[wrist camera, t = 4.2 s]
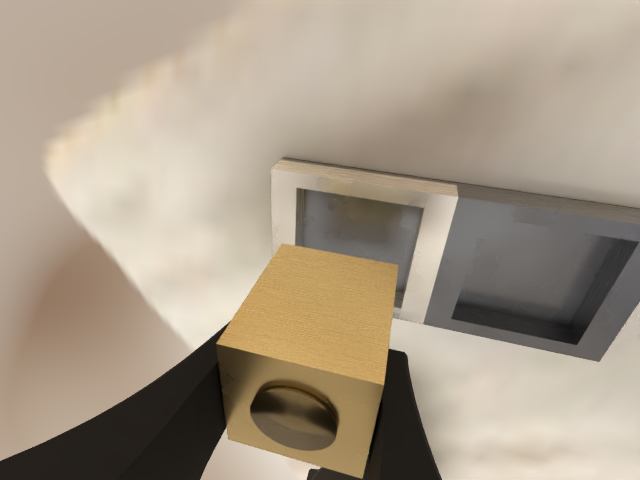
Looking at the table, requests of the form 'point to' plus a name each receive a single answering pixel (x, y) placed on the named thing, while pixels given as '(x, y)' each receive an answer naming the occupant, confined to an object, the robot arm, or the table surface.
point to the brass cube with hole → (310, 357)
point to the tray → (473, 252)
